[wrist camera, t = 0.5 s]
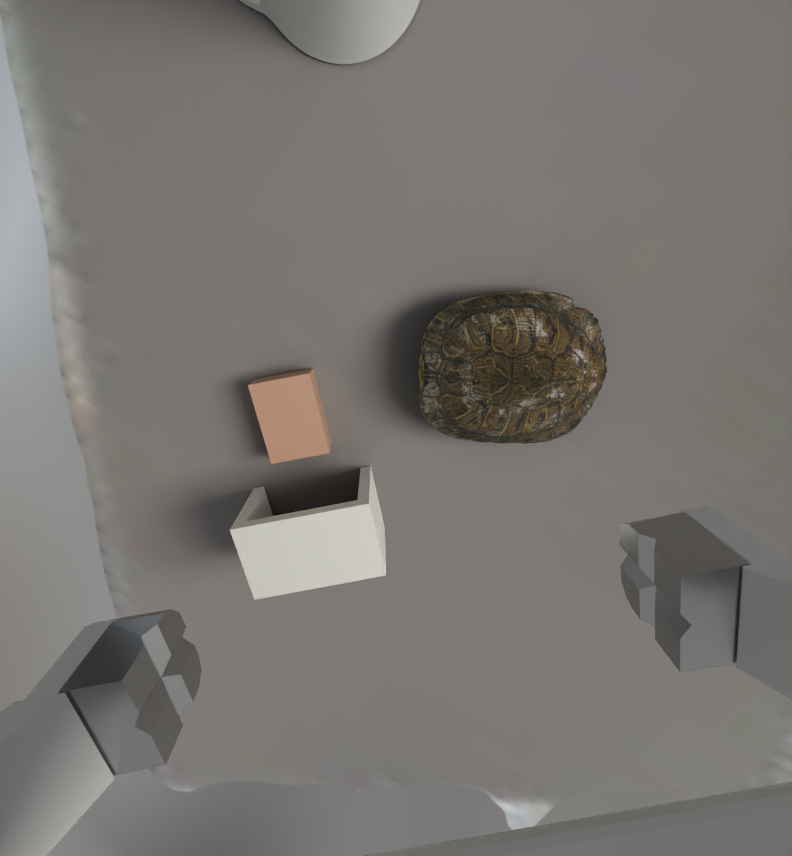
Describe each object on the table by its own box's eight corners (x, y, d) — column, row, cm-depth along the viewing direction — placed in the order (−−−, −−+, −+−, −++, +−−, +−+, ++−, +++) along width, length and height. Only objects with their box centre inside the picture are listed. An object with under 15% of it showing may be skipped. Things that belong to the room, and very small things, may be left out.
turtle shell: (611, 456, 48) (429, 469, 44) (563, 427, 56) (406, 435, 52) (645, 296, 43) (441, 292, 38) (587, 290, 51) (413, 286, 46)
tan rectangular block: (255, 378, 50) (247, 385, 47) (313, 367, 50) (309, 373, 47) (277, 453, 53) (271, 464, 50) (332, 443, 53) (329, 453, 50)
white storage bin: (253, 488, 54) (229, 529, 45) (370, 465, 54) (368, 503, 45) (273, 549, 57) (254, 599, 48) (384, 528, 56) (385, 575, 48)
